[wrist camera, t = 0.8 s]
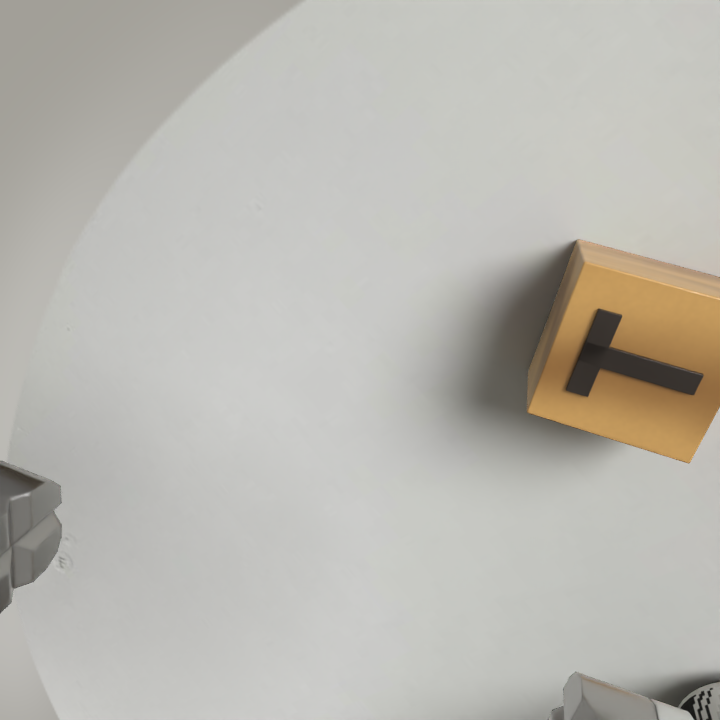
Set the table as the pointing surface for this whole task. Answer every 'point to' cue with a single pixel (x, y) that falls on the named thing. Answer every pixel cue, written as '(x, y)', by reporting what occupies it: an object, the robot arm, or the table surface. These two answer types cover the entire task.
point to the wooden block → (630, 352)
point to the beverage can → (703, 702)
